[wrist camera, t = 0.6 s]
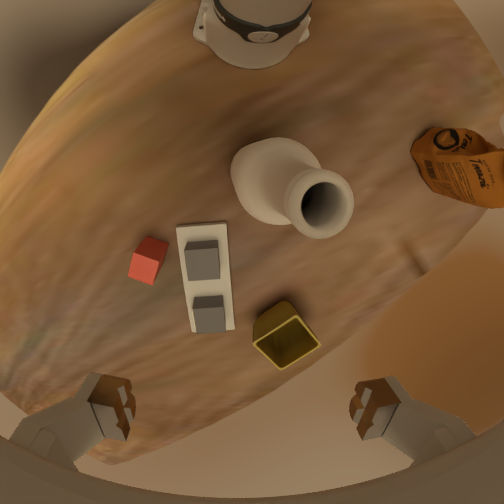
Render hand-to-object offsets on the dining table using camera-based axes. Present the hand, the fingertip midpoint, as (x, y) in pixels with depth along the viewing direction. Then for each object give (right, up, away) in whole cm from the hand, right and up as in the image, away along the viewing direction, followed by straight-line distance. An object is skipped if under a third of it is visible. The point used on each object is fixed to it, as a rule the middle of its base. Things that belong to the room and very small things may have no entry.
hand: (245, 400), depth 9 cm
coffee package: (+36, +23, +36) cm, 56 cm away
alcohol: (+1, +18, +35) cm, 39 cm away
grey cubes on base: (-8, 0, +40) cm, 41 cm away
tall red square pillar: (-16, +5, +37) cm, 41 cm away
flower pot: (+5, -7, +44) cm, 45 cm away
